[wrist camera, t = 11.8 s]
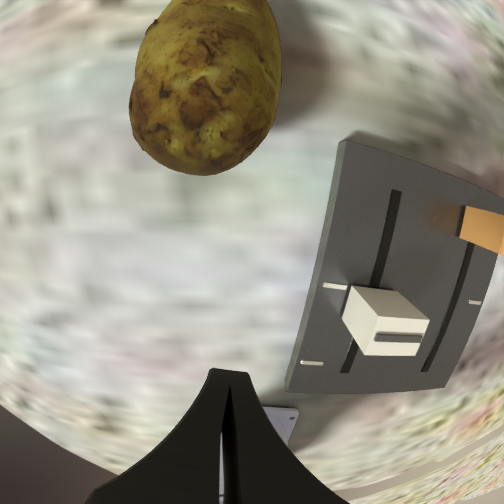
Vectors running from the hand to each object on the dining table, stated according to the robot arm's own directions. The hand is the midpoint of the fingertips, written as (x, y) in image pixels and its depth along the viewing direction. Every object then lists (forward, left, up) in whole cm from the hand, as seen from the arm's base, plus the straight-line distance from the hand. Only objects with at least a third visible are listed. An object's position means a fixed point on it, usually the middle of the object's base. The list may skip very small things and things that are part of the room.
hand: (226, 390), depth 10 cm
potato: (+14, +3, -11) cm, 18 cm away
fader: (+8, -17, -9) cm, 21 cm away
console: (+2, -13, -10) cm, 17 cm away
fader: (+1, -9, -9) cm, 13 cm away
